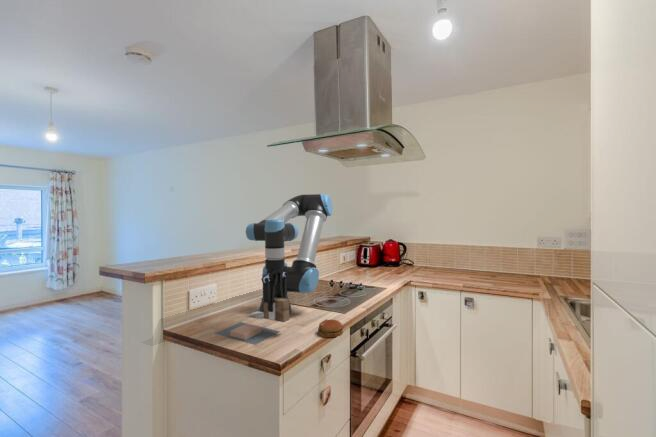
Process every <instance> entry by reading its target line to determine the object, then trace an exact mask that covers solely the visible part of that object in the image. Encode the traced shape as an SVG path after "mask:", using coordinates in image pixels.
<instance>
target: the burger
mask: <svg viewBox="0 0 656 437" xmlns="http://www.w3.org/2000/svg"><path fill="white" fill-rule="evenodd" d="M318 325H319V326H318V327H317V328H318V329H317V330H318V334H319V336H320V337H322V338H336V337H340V336H342V335H343V334H344V331H343V324H342V322H341V321H339V320H338V319H325V320H323V321H321V322H320V323H319V324H318Z"/></svg>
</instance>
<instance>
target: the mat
mask: <svg viewBox="0 0 656 437" xmlns="http://www.w3.org/2000/svg"><path fill="white" fill-rule="evenodd" d="M245 324H248V322H247V323H246V322H241V321H240V322H237V323H235V324H232V325H230V326H228V327H225V328H223V329H221V330H219V331H217V332H214V334H215V335H218V336H222V337H225V338H229V339H232V340H237V341H241V342H244V343H247V344H251V345H258V344H260V343H262V342H264V341H266V340H268V339H269V338H272V337H273V336H275V335H276V334H279V333H280V332H281V331H280V330H275V329H272V328H267V327H263V326H261V327H262V332H261V333H259V334H257V335H255V336H253V337H251V338H249V339H247V340H241V339H238V338H234V337H230V331H231V330H233V329H236V328H238V327H240V326H242V325H245Z"/></svg>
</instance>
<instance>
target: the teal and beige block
mask: <svg viewBox="0 0 656 437" xmlns="http://www.w3.org/2000/svg"><path fill="white" fill-rule="evenodd" d="M262 327H263V326H259V325H254V324H251V323H247V324H245V325H242V326H240V327H238V328H236V329H233V330H231V331H230V337H234V338H238V339H241V340H247V339H249V338H251V337H253V336H255V335H257V334H259V333H261V332H262Z"/></svg>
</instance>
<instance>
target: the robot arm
mask: <svg viewBox="0 0 656 437" xmlns="http://www.w3.org/2000/svg"><path fill="white" fill-rule="evenodd" d="M332 214H333V203H332V199H331V196H330V195H329V194H327V193H320V194H319V193H318V194H317V193H316V194H315V193H314V194H313V193H311V194H299V195H296V196H294V197H291V198H290V199H288V200H287V201H285V202H283V204H282V206H281V207H279V208H278V209H277V210H274V212H272V213H271V214H269V215H268V216H266V217H265V218H264V219H262V220H260V221H259V222H257V223H256V222H252V223H248V224H247V226H246V229H245V235H246V238H247V240H249V241H255V242H258V241H259V242H261V241H263V242H264V248H265V250H264V253H265V254H264V255H265V260H264V262H265V263H264V264H265V265H264V266H263V268H262V274H261V282H262V298H261V302H260V305H259V310H258V311H259V312H264V303H263V298H264V302H265V303H268V312H269V319H270V321H274V320H275V303H274V297H277V298H284V299H289V296H288V292H289V293H301V294H311V293H313V291H315V290H316V288H317V287H318V283H319V279H320V272H319V270H318V268H317V265H316V263H315V262H316V261H315V260H316V256H317V251H318V247H319V242H320V238H321V234H322V228H323V224H324V223H325V222H326V221H327V219H328V217H330V216H332ZM296 217H305V218H306V219H305V220H306V221H305V223H304V229H303V233H302V236H301V241H300V245H299V248H298V252H297V257H296V259H294V260H293V261H292V264H291V266H288V264H287V263H286V262H285V254H286V253H285V243H286V242H292V241H294V240H296V239H297V238H298V235H299V227H297V225H296V224H294V223H291V222H289V221H290V220H291V219H294V218H296ZM291 312H292V304H291V301H290V300H289V314H291ZM269 319H268V320H269Z"/></svg>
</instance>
